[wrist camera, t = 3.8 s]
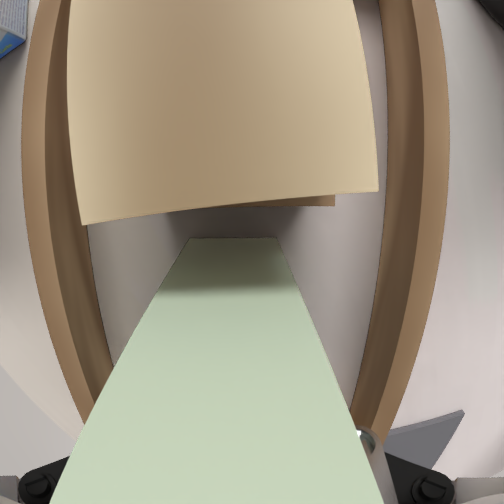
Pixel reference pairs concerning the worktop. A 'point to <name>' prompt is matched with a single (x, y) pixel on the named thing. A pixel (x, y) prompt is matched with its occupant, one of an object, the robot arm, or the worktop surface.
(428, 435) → the mat
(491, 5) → the supplement bottle
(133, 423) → the pale green rectangular block
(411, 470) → the robot arm
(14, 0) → the medicine box
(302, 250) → the worktop surface
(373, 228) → the worktop surface
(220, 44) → the offcut upper
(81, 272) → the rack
